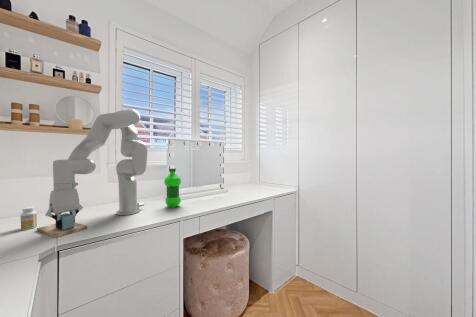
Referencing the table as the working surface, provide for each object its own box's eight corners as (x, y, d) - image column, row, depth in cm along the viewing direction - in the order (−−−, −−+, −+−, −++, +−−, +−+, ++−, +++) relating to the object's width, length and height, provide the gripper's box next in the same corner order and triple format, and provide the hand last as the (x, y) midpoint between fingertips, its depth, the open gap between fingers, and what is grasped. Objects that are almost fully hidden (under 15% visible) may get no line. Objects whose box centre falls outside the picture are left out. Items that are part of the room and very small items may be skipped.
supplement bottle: (29, 226, 103) (28, 206, 102) (40, 226, 102) (39, 206, 102) (17, 230, 97) (16, 209, 97) (28, 230, 97) (28, 209, 97)
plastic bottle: (161, 208, 134) (160, 169, 133) (170, 204, 144) (169, 167, 143) (175, 208, 131) (174, 169, 131) (184, 204, 141) (183, 167, 141)
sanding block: (55, 228, 95) (55, 215, 95) (66, 225, 99) (66, 213, 99) (63, 230, 92) (63, 217, 92) (74, 227, 96) (73, 214, 96)
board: (67, 222, 106) (67, 220, 106) (87, 228, 98) (87, 225, 98) (36, 230, 96) (36, 228, 96) (55, 237, 87) (55, 234, 87)
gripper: (80, 183, 104) (81, 220, 104) (36, 189, 89) (37, 231, 89) (89, 184, 101) (90, 222, 101) (44, 190, 86) (46, 234, 86)
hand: (65, 226), depth 95 cm, fingers closed on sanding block, 4 cm apart
